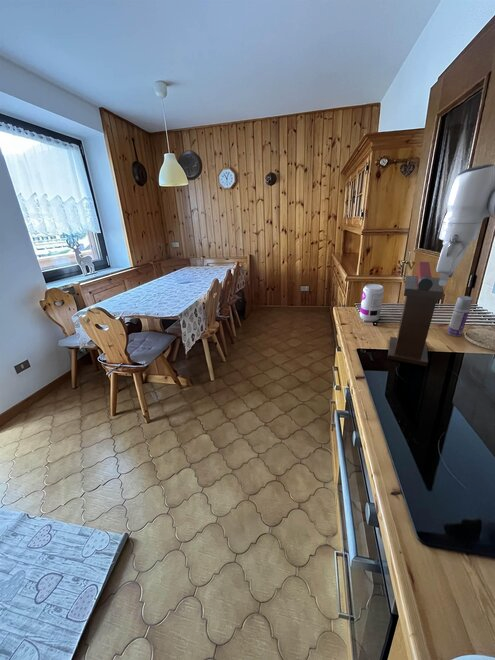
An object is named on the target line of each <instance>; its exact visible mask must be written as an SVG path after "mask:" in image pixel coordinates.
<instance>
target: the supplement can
mask: <svg viewBox="0 0 495 660" xmlns="http://www.w3.org/2000/svg"><path fill="white" fill-rule="evenodd" d="M384 293H385V289H384V286H383V285H381V284H378V283H368V284H365V286H364V287H363V289H362V296H361V304H360V310H359V318H360V319H361V320H363V321H365V322H371V323H372V322H377V321H378V320H379V319H380V317H381V310H382V305H383V298H384Z"/></svg>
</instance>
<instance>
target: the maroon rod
mask: <svg viewBox="0 0 495 660" xmlns="http://www.w3.org/2000/svg"><path fill="white" fill-rule="evenodd" d="M417 276H418V287H419V288H420V289H421V290H428V289H430V288H431V287H432V285H433V282H432V271H431V265H430V261H419V263H418V266H417Z"/></svg>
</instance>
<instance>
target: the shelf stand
mask: <svg viewBox="0 0 495 660" xmlns="http://www.w3.org/2000/svg"><path fill="white" fill-rule="evenodd" d="M439 281H440V277H432V282H433V285H432V287H431V288H430V289H428V290H421V289H420V288H419V287H418V275H417V276H416V275H405V279H404V287H403V296H404V297H405V298H404V303H403V307H402V312H401V317H400V322H399V325H398V331H397V335H396V337H393V336H390V338H389V344H388V352H387V357H386V359H387V360H392V361H396V362H402V363H407V364H413V365H417V366H423V367H428V364H429V357H428V356H429V355H428V345H427V344H428V343H427V338H428V334H429V330H430V326H431V324H432V319H433V316H434V312H435V309H436V304H437V301H438V300H443V297H444V294H445V291H444V286H441V285H439Z"/></svg>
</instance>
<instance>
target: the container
mask: <svg viewBox="0 0 495 660" xmlns="http://www.w3.org/2000/svg"><path fill="white" fill-rule="evenodd" d="M473 300H474V299H473V297H471V296H469V295H468V296H467V295H459V296H458V297H457V299H456V303H455V305H454V307H453V312H452V314H451V318H450V321H449V324H448V328H447V332H446V333H447V334H448V335H449V336H453V337H461V336H462V334H463V331H464V328H465V326H466V322H467V319H468V316H469V314H470V310H471V308H472V304H473Z"/></svg>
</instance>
